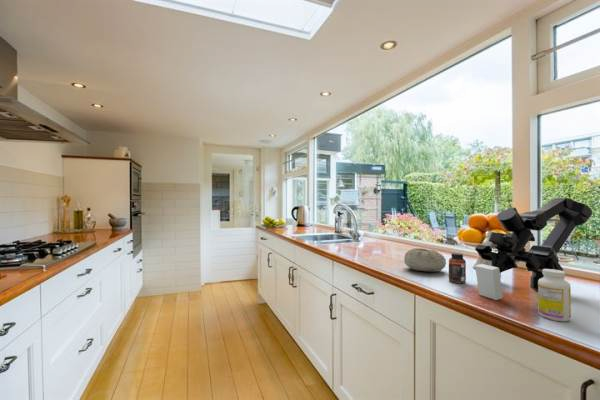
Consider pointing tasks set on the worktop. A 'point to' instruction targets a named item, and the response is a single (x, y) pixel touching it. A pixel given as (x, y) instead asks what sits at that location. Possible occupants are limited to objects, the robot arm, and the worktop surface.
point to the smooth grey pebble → (424, 260)
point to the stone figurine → (488, 243)
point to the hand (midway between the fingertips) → (491, 274)
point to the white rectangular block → (489, 281)
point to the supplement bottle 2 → (554, 296)
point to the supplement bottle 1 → (457, 268)
